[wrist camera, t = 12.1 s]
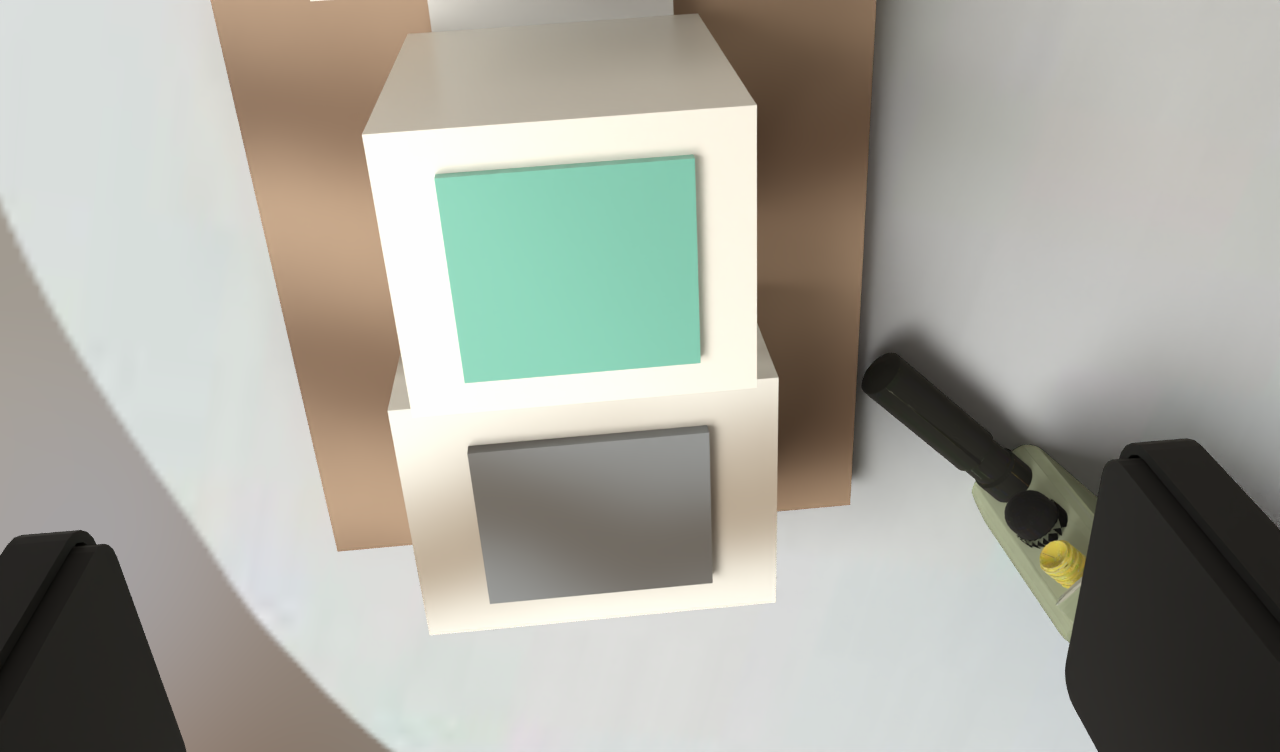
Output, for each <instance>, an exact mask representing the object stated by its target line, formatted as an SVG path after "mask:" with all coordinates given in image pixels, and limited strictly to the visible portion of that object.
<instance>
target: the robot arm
mask: <svg viewBox="0 0 1280 752" xmlns="http://www.w3.org/2000/svg"><path fill="white" fill-rule="evenodd" d="M1065 678H1066V685H1067V690H1068V694H1069V697H1070V700H1071V702H1072V704H1073V706H1074V708H1075V710H1076V712H1077V714H1078V716H1079V717H1080V719H1081V721H1082V723H1083V725H1084V727H1085V728H1086V730H1087V732H1088V734H1089V736H1090V738H1091V739H1092V741H1093V743H1094V745H1095V747H1096V749H1097V750H1098V752H1280V530H1279V529H1278V527H1277V526H1276V525H1275V524H1274V523H1273V522H1272V521H1271V520H1270V519H1269V518H1268V517H1267V516H1266V515H1265V513H1264V512H1263V511H1262V510H1261V509H1260V508H1259V507H1258V506H1257V505H1256V504H1255V503H1254V502H1253V501H1252V500H1251V498H1250V497H1249V496H1248V495H1247V494H1246V493H1245V492H1244V491H1243V490H1242V489H1241V488H1240V487H1239V486H1238V484H1237V483H1236V482H1235V481H1234V480H1233V479H1232V478H1231V477H1230V476H1229V475H1228V474H1227V473H1226V472H1225V470H1224V469H1223V468H1222V467H1221V466H1220V465H1219V464H1218V463H1217V462H1216V461H1215V460H1214V459H1213V458H1212V457H1211V455H1210V454H1209V453H1208V452H1207V451H1206V450H1205V449H1204V448H1203V447H1202V446H1201V445H1200V444H1199V443H1197V442H1196V441H1195V440H1191V439H1175V440H1163V441H1151V442H1139V443H1131V444H1129V445H1127V446H1126V447H1125V448H1124V449H1123V451H1122V452H1121V455H1120V458H1119V459H1117V460H1111V461H1109V462H1108V463H1107V464H1106V465H1105V467H1104V470H1103V473H1102V478H1101V483H1100V488H1099V493H1098V499H1097V504H1096V509H1095V514H1094V519H1093V525H1092V530H1091V535H1090V540H1089V545H1088V551H1087V556H1086V561H1085V566H1084V571H1083V576H1082V582H1081V587H1080V592H1079V597H1078V602H1077V608H1076V613H1075V618H1074V623H1073V628H1072V634H1071V639H1070V644H1069V649H1068V654H1067V660H1066V666H1065ZM0 752H186V749H185V745H184V741H183V739H182V736H181V733H180V730H179V728H178V725H177V722H176V719H175V716H174V713H173V711H172V708H171V705H170V703H169V700H168V697H167V694H166V691H165V689H164V686H163V683H162V680H161V678H160V675H159V672H158V670H157V667H156V664H155V661H154V658H153V655H152V653H151V650H150V647H149V644H148V642H147V639H146V636H145V633H144V631H143V628H142V625H141V622H140V619H139V617H138V614H137V611H136V608H135V606H134V603H133V600H132V597H131V595H130V592H129V589H128V586H127V584H126V581H125V578H124V575H123V572H122V570H121V567H120V564H119V561H118V559H117V556H116V554H115V552H114V550H113V549H112V548H111V547H110V546H109V545H106V544H98V545H96V543H95V541H94V539H93V537H92V536H91V535H90V534H89V533H88V532H85V531H82V530H77V531H66V532H53V533H41V534H29V535H21V536H18V537H15V538H14V539H13V540H12V541H11V542H10V543H9V544H8V545H7V546H6V548H5V549H4V551H3V552H2V554H1V555H0Z"/></svg>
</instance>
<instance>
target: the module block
mask: <svg viewBox="0 0 1280 752" xmlns="http://www.w3.org/2000/svg"><path fill="white" fill-rule="evenodd" d="M362 138H363V144H364V150H365V155H366V161H367V166H368V172H369V178H370V183H371V189H372V194H373V200H374V206H375V211H376V217H377V222H378V228H379V234H380V239H381V245H382V251H383V256H384V262H385V267H386V273H387V279H388V284H389V290H390V295H391V301H392V307H393V312H394V318H395V323H396V329H397V335H398V340H399V346H400V351H401V357H402V363H403V368H404V374H405V379H406V385H407V391H408V396H409V402H410V408H411V413H412V418H417V417H429V416H440V415H452V414H463V413H474V412H486V411H497V410H509V409H520V408H532V407H543V406H555V405H566V404H578V403H589V402H601V401H612V400H624V399H635V398H646V397H658V396H669V395H681V394H692V393H704V392H715V391H727V390H738V389H750V388H757V105H756V103H755V101H754V100H753V98H752V97H751V95H750V94H749V92H748V91H747V89H746V87H745V86H744V84H743V83H742V81H741V80H740V78H739V77H738V75H737V73H736V72H735V70H734V69H733V67H732V66H731V64H730V63H729V61H728V59H727V58H726V56H725V55H724V53H723V52H722V50H721V49H720V47H719V45H718V44H717V42H716V41H715V39H714V38H713V36H712V35H711V33H710V31H709V30H708V28H707V27H706V25H705V24H704V22H703V21H702V19H701V17H700V16H699V14H698V13H696V14H682V15H668V16H654V17H640V18H625V19H611V20H597V21H583V22H569V23H555V24H541V25H527V26H512V27H498V28H484V29H470V30H456V31H442V32H428V33H414V34H407V37H406V39H405V41H404V43H403V45H402V48H401V50H400V52H399V54H398V56H397V59H396V61H395V63H394V65H393V67H392V70H391V72H390V74H389V76H388V78H387V81H386V83H385V85H384V87H383V89H382V91H381V94H380V96H379V98H378V100H377V102H376V105H375V107H374V109H373V111H372V113H371V116H370V118H369V120H368V122H367V124H366V127H365V129H364V131H363V133H362Z"/></svg>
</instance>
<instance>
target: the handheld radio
mask: <svg viewBox="0 0 1280 752" xmlns="http://www.w3.org/2000/svg"><path fill="white" fill-rule="evenodd" d="M862 389H863V391H864V392H865V393H866V394H867V395H869V396H870V397H871V398H872V399H873V400H875V401H876V402H877V403H878V404H880V405H881V406H882V407H883V408H884V409H886V410H887V411H888V412H889V413H891V414H892V415H893V416H894V417H895V418H897V419H898V420H899V421H900V422H902V423H903V424H904V425H905V426H906V427H908V428H909V429H910V430H911V431H913V432H914V433H915V434H916V435H918V436H919V437H920V438H921V439H922V440H924V441H925V442H926V443H927V444H929V445H930V446H931V447H932V448H933V449H935V450H936V451H937V452H938V453H940V454H941V455H942V456H943V457H944V458H946V459H947V460H948V461H949V462H951V463H952V464H953V465H954V466H955V467H957V468H958V469H959V470H962V471H966V472H967V473H968V474H970V475H971V476H972V477H973V478H975V480H976V482H975V483H974V486H973V489H972V494H973V497H974V500H975V502H976V504H977V506H978V508H979V510H980V513H981V515H982V517H983V519H984V521H985V523H986V524H987V526H988V527H989V529H990V530H991V532H992V533H993V535H994V536H995V538H996V539H997V540H998V542H999V543H1000V545H1001V546H1002V548H1003V549H1004V551H1005V552H1006V554H1007V555H1008V557H1009V558H1010V560H1011V561H1012V563H1013V564H1014V566H1015V567H1016V569H1017V570H1018V572H1019V573H1020V575H1021V576H1022V578H1023V579H1024V581H1025V582H1026V584H1027V585H1028V587H1029V588H1030V590H1031V591H1032V593H1033V594H1034V596H1035V597H1036V599H1037V600H1038V602H1039V603H1040V605H1041V606H1042V608H1043V609H1044V611H1045V612H1046V613H1047V615H1048V616H1049V618H1050V619H1051V621H1052V622H1053V624H1054V625H1055V627H1056V628H1057V630H1058V631H1059V633H1060V634H1061V636H1062V637H1063V638H1064V639H1065V640H1067V641H1068V642H1069V643H1070V639H1071V634H1072V628H1073V623H1074V618H1075V613H1076V608H1077V602H1078V597H1079V592H1080V587H1081V582H1082V576H1083V571H1084V566H1085V561H1086V556H1087V551H1088V545H1089V540H1090V535H1091V530H1092V525H1093V519H1094V514H1095V509H1096V504H1097V499H1098V498H1097V497H1096V496H1095V495H1094V494H1093V493H1092V492H1090V491H1089V490H1088V489H1087V488H1086V487H1085V486H1084V485H1082V484H1081V483H1080V482H1079V481H1078V480H1077V479H1075V478H1074V477H1073V476H1072V475H1071V474H1070V473H1069V472H1067V471H1066V470H1065V469H1064V468H1063V467H1062V466H1060V465H1059V464H1058V463H1057V462H1056V461H1055V460H1054V459H1052V458H1051V457H1050V456H1049V455H1048V454H1047V453H1045V452H1044V451H1043V450H1042V449H1040V448H1039V447H1036V446H1033V445H1021V446H1020V447H1018V448H1016V449H1014V450H1013V451H1012V452H1011V451H1010V450H1009V449H1006V448H1002V447H1001V446H1000V445H999V444H998V443H997V442H995V441H994V440H993V437H992V435H991V434H990V433H989V432H988V431H987V430H985V429H984V428H983V427H982V426H981V425H980V424H978V423H977V422H976V421H975V420H974V419H973V418H971V417H970V416H969V415H968V414H967V413H966V412H964V411H963V410H962V409H961V408H960V407H958V406H957V405H956V404H955V403H954V402H953V401H951V400H950V399H949V398H948V397H947V396H946V395H944V394H943V393H942V392H941V391H940V390H938V389H937V388H936V387H935V386H934V385H933V384H931V383H930V382H929V381H928V380H927V379H926V378H924V377H923V376H922V375H921V374H920V373H919V372H917V371H916V370H915V369H914V368H913V367H911V366H910V365H909V364H908V363H907V362H906V361H904V360H903V359H902V358H901V357H900V356H899V355H897V354H896V353H887V354H885V355H883V356H881V357H879V358H878V359H877V360H875V361H874V362H873V363H872V364H871V365H870V367H869V368H868V369H867V371H866V373H865V375H864V377H863V380H862Z"/></svg>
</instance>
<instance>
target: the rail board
mask: <svg viewBox="0 0 1280 752" xmlns="http://www.w3.org/2000/svg"><path fill="white" fill-rule="evenodd" d="M211 5H212V9H213V13H214V18H215V22H216V26H217V31H218V35H219V39H220V44H221V48H222V52H223V57H224V61H225V65H226V70H227V74H228V78H229V83H230V87H231V91H232V96H233V100H234V104H235V109H236V113H237V117H238V122H239V126H240V130H241V135H242V139H243V143H244V148H245V152H246V156H247V161H248V165H249V169H250V174H251V178H252V182H253V187H254V191H255V195H256V200H257V204H258V208H259V213H260V217H261V221H262V226H263V230H264V234H265V239H266V243H267V247H268V252H269V256H270V260H271V265H272V269H273V273H274V278H275V282H276V286H277V291H278V295H279V299H280V304H281V308H282V312H283V317H284V321H285V325H286V330H287V334H288V338H289V343H290V347H291V351H292V356H293V360H294V364H295V369H296V373H297V377H298V382H299V386H300V390H301V395H302V399H303V403H304V408H305V412H306V416H307V421H308V425H309V429H310V434H311V438H312V442H313V447H314V451H315V455H316V460H317V464H318V468H319V473H320V477H321V481H322V486H323V490H324V494H325V499H326V503H327V507H328V512H329V516H330V520H331V525H332V529H333V533H334V538H335V542H336V546H337V551H348V550H359V549H370V548H381V547H392V546H403V545H413V549H414V554H415V560H416V565H417V570H418V576H419V581H420V586H421V591H422V597H423V602H424V607H425V613H426V618H427V623H428V629H429V634H430V635H438V634H448V633H459V632H469V631H480V630H490V629H501V628H511V627H522V626H532V625H543V624H553V623H564V622H574V621H585V620H595V619H606V618H616V617H627V616H637V615H648V614H658V613H669V612H679V611H690V610H700V609H711V608H721V607H732V606H742V605H753V604H763V603H774V602H776V543H777V511H787V510H798V509H809V508H820V507H831V506H842V505H850V496H851V477H852V457H853V438H854V419H855V400H856V381H857V362H858V343H859V324H860V304H861V285H862V266H863V247H864V228H865V209H866V190H867V170H868V151H869V132H870V113H871V94H872V75H873V56H874V36H875V17H876V0H211ZM696 13H698V14H699V16H700V17H701V19H702V21H703V22H704V24H705V25H706V27H707V28H708V30H709V31H710V33H711V35H712V36H713V38H714V39H715V41H716V42H717V44H718V45H719V47H720V49H721V50H722V52H723V53H724V55H725V56H726V58H727V59H728V61H729V63H730V64H731V66H732V67H733V69H734V70H735V72H736V73H737V75H738V77H739V78H740V80H741V81H742V83H743V84H744V86H745V87H746V89H747V91H748V92H749V94H750V95H751V97H752V98H753V100H754V101H755V103H756V105H757V388H750V389H738V390H727V391H715V392H704V393H692V394H681V395H669V396H658V397H646V398H635V399H624V400H612V401H601V402H589V403H578V404H566V405H555V406H543V407H532V408H520V409H509V410H497V411H486V412H474V413H463V414H452V415H440V416H429V417H417V418H412V413H411V408H410V402H409V396H408V391H407V385H406V379H405V374H404V368H403V363H402V357H401V351H400V346H399V340H398V335H397V329H396V323H395V318H394V312H393V307H392V301H391V295H390V290H389V284H388V279H387V273H386V267H385V262H384V256H383V251H382V245H381V239H380V234H379V228H378V222H377V217H376V211H375V206H374V200H373V194H372V189H371V183H370V178H369V172H368V166H367V161H366V155H365V150H364V144H363V138H362V133H363V131H364V129H365V127H366V124H367V122H368V120H369V118H370V116H371V113H372V111H373V109H374V107H375V105H376V102H377V100H378V98H379V96H380V94H381V91H382V89H383V87H384V85H385V83H386V81H387V78H388V76H389V74H390V72H391V70H392V67H393V65H394V63H395V61H396V59H397V56H398V54H399V52H400V50H401V48H402V45H403V43H404V41H405V39H406V37H407V34H414V33H428V32H442V31H456V30H470V29H484V28H498V27H512V26H527V25H541V24H555V23H569V22H583V21H597V20H611V19H625V18H640V17H654V16H668V15H682V14H696Z"/></svg>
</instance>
